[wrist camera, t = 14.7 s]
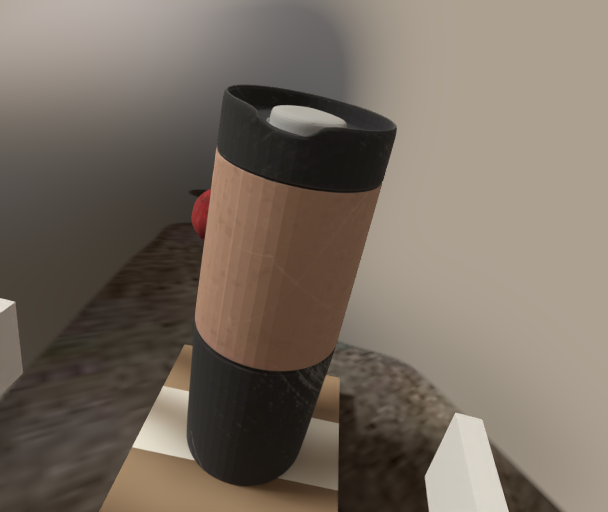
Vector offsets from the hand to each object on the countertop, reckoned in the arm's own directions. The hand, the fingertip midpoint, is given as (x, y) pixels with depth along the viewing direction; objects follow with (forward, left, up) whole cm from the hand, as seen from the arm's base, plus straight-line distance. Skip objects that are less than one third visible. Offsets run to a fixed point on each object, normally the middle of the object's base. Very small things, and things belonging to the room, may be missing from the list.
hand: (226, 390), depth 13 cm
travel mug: (-8, -6, -13) cm, 17 cm away
